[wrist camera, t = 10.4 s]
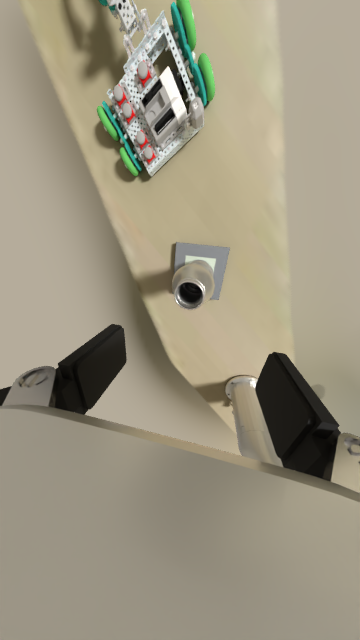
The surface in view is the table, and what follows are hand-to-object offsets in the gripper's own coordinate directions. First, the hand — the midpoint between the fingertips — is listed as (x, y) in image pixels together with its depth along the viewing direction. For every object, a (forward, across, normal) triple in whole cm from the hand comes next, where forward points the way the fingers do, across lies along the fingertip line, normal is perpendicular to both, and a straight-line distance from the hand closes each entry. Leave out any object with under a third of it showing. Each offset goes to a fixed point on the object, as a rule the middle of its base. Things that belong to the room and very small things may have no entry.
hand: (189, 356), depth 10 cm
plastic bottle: (+30, +2, -1) cm, 30 cm away
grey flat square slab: (+31, +2, -2) cm, 31 cm away
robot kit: (+31, +16, -32) cm, 47 cm away
